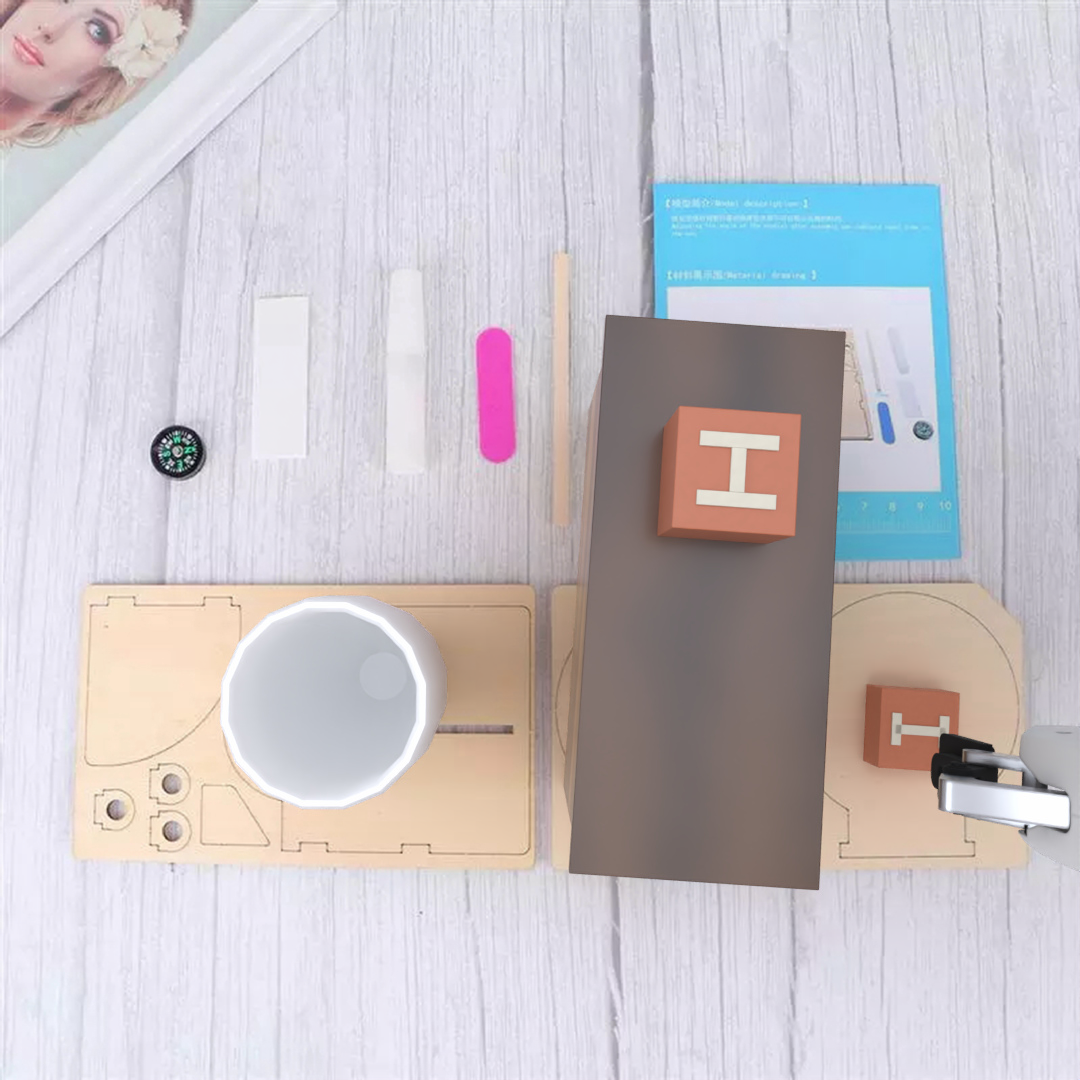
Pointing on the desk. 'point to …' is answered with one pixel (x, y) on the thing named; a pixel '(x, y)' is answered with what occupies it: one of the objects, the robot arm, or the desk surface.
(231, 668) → the cup
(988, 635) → the desk surface
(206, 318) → the desk surface
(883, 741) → the tile
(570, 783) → the stand
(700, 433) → the tile
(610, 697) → the word board
